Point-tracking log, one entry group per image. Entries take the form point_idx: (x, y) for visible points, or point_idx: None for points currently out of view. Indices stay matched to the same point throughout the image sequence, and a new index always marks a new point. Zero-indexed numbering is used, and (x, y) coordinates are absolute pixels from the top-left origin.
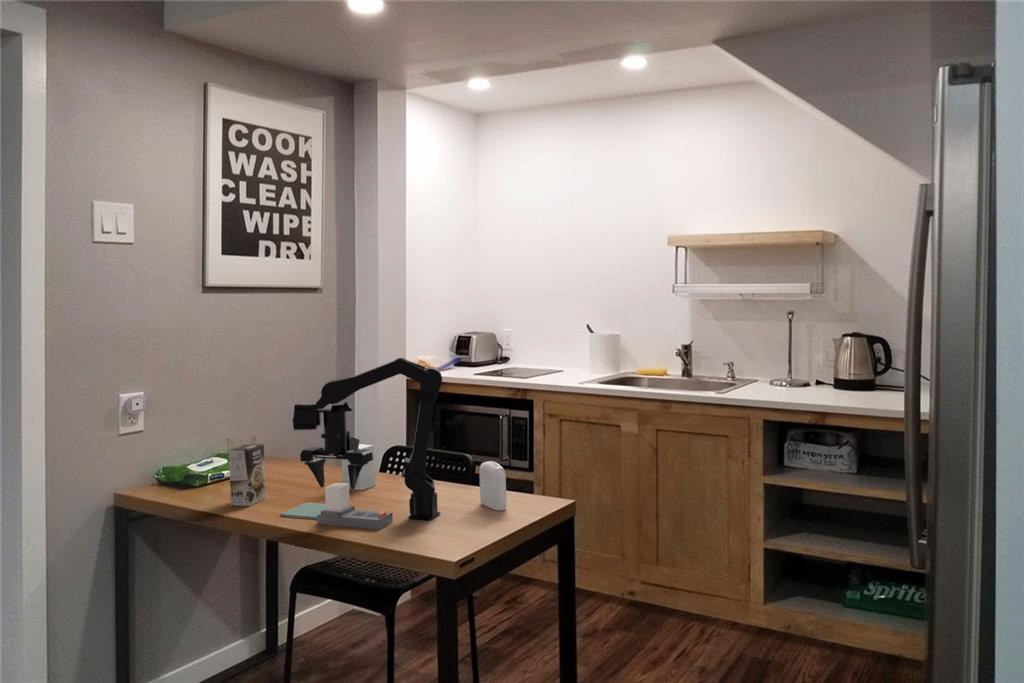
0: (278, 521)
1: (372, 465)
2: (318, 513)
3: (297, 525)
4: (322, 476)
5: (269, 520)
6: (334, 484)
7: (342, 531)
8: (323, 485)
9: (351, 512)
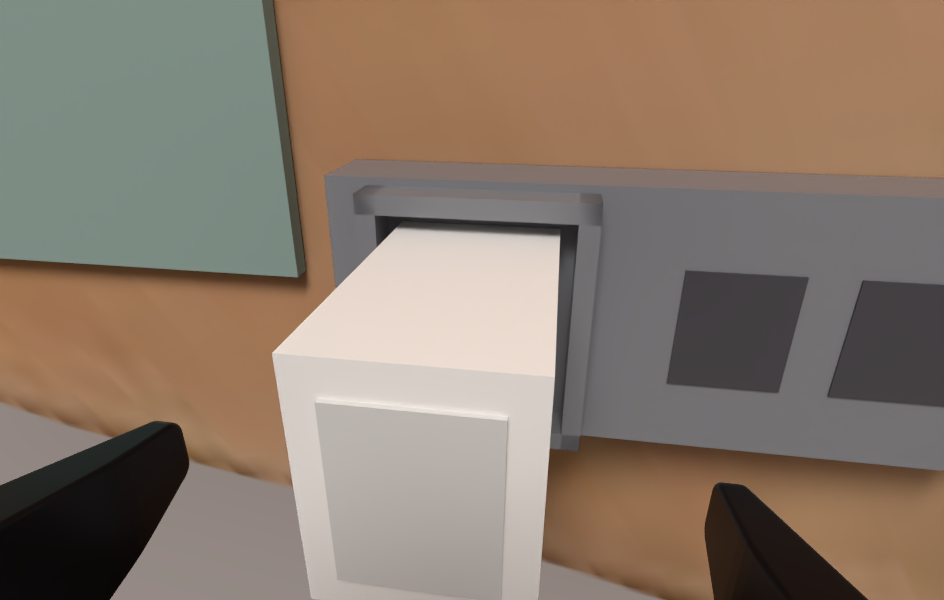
0: (84, 362)
1: None
2: (218, 174)
3: (266, 418)
4: (39, 564)
5: (15, 353)
6: (338, 469)
7: (653, 489)
8: (170, 448)
9: (619, 300)
